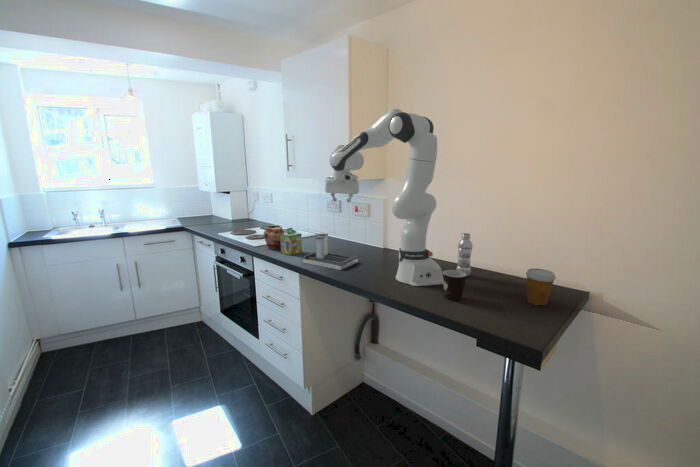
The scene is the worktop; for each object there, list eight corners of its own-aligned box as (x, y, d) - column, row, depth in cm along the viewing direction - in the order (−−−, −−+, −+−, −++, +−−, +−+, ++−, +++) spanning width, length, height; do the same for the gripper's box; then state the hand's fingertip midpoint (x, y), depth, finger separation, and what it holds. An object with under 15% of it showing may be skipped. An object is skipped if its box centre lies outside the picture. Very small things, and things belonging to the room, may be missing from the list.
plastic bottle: (469, 274, 150) (473, 233, 146) (470, 278, 144) (474, 236, 140) (455, 272, 152) (458, 232, 148) (456, 277, 146) (459, 235, 142)
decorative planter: (258, 246, 203) (256, 225, 200) (274, 243, 211) (273, 222, 208) (273, 252, 189) (272, 229, 186) (291, 248, 197) (290, 226, 194)
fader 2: (328, 254, 175) (327, 233, 173) (324, 256, 173) (324, 234, 170) (323, 253, 177) (322, 233, 175) (319, 255, 174) (319, 234, 172)
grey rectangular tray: (357, 262, 169) (357, 255, 168) (340, 270, 156) (340, 263, 155) (321, 255, 182) (321, 249, 181) (303, 262, 168) (303, 256, 168)
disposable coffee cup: (554, 302, 119) (558, 271, 117) (548, 310, 112) (553, 278, 110) (526, 295, 126) (529, 266, 123) (519, 302, 119) (523, 272, 116)
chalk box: (291, 255, 182) (290, 230, 179) (280, 253, 187) (279, 228, 184) (302, 252, 189) (301, 227, 186) (291, 250, 194) (290, 226, 191)
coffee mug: (466, 303, 118) (468, 278, 116) (442, 301, 120) (443, 276, 118) (461, 291, 129) (463, 268, 127) (439, 290, 131) (441, 266, 129)
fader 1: (324, 258, 168) (324, 236, 166) (321, 260, 165) (320, 237, 163) (319, 257, 170) (319, 236, 167) (315, 259, 167) (315, 237, 165)
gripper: (322, 176, 174) (323, 201, 177) (354, 176, 164) (354, 203, 166) (329, 175, 179) (329, 200, 182) (360, 176, 169) (360, 202, 172)
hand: (341, 201), depth 174 cm, fingers open, 8 cm apart
